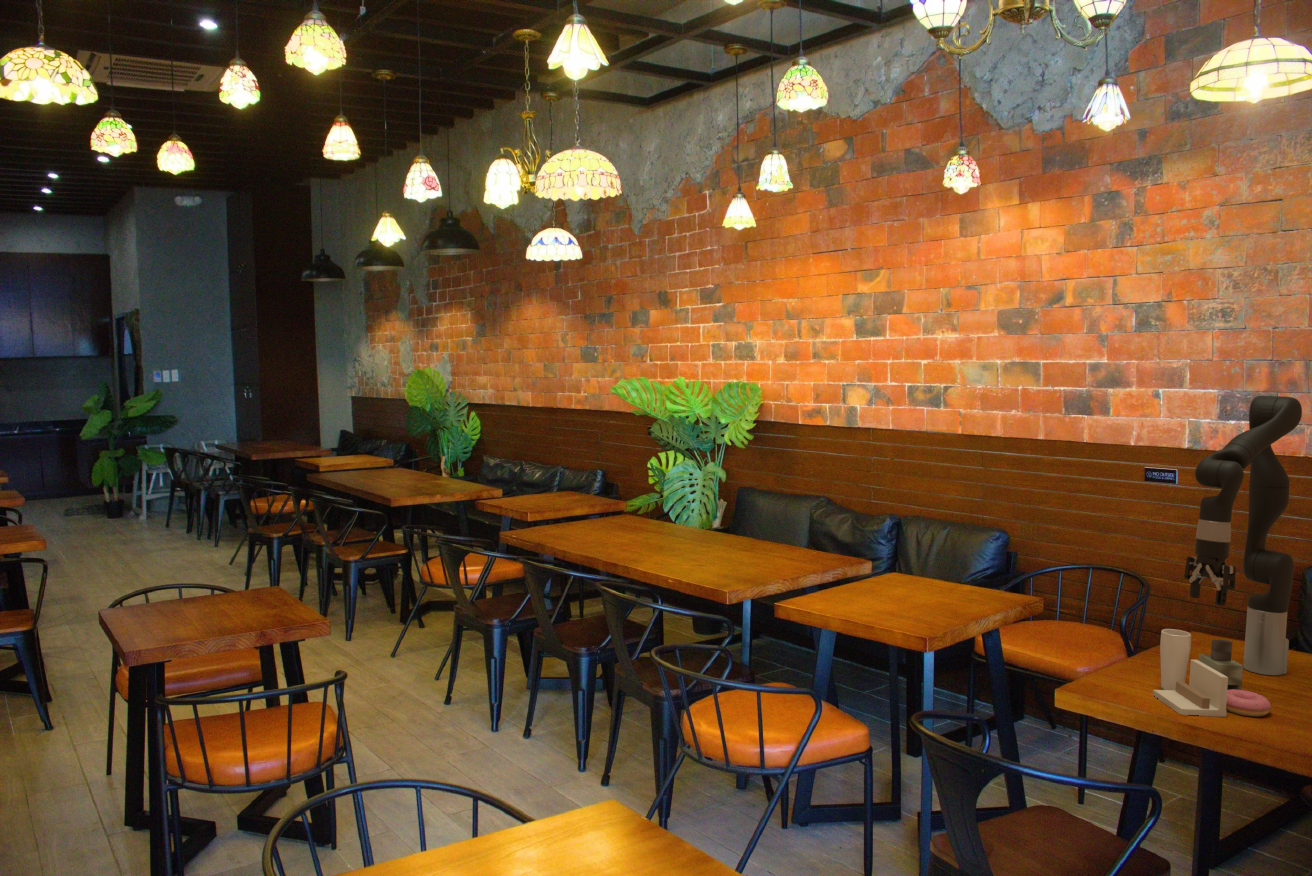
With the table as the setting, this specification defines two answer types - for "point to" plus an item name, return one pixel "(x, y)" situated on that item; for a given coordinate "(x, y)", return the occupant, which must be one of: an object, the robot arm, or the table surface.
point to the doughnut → (1247, 703)
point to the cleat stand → (1198, 693)
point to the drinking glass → (1174, 657)
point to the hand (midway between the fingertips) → (1207, 601)
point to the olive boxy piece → (1224, 663)
